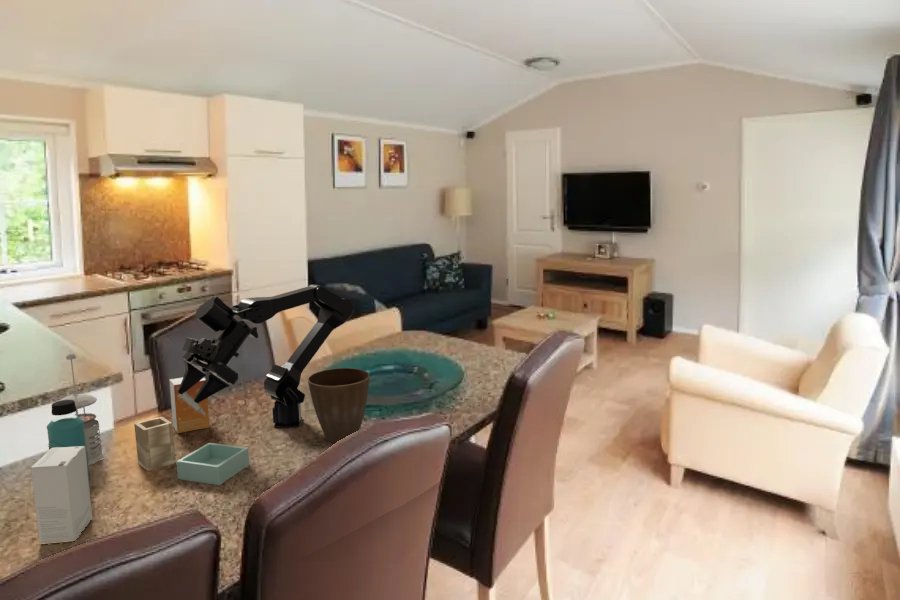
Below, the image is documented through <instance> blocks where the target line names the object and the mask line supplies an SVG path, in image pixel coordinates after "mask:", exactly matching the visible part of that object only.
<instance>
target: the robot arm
mask: <svg viewBox="0 0 900 600" xmlns="http://www.w3.org/2000/svg"><path fill="white" fill-rule="evenodd" d="M313 302H314V303H315V305H316V306H318V307H320V309H319V312H318V318H317V320H316V322H315V323H314V325H313V327H311V329H310V330H309V331H308V333H307V334H306V336H305V337H304V339H303V340H302V341H301V342H300V344H299V345H298V346H297V347H296V349H295V350H294V351H293V353H292V354H291V356H290V357H289V358H288V359H287V361H286V362H285V363H283V364H281V365H279V364H277V363H275V364H274V365H273V366H272V367H271V370H270V371H269V372H268V373H267V374H265V375H264V376H265V379H264V381H263V386H264V387H263V388H264V391H265V392H266V393H267V395H269V396H270V399H271V400H273V401H274V402H273V403H274V406H273V407H272V420H273V421H272V423H273V428H298V427H300V426H301V423H302V421H303V416H302V407H301V404H302V403H304V401H305V398H306V394H305V393H303V392H302V391H301V390H300V389H299V388H298V387H299V386H300V384H301V378H302V377H301V376H302V373H303V371H304V370H305V369H306V367H307V366H308V365H309V363H310V362H311V361H312V359H313V358H314V356H316V353H317V352H318V351H319V350H320V349H321V347H322V345H323V344H324V343H325V342H326V340H327V339H328V338H329V336H330V335H331V334H332V332H333V331H334V330H336V329H337V328H338V327H341V326H343V324H344V323H346V322H347V321H349V319H350V318H351V317H352V315H353V313H354V306H353V303H352V301H351V300H349V299H347V298H342V297H340V296H339V295H337V294H335V293H333V292H331V291H330V290H328V288H325V287H324V286H323V285H319V284H309V285H308V286H304V287H301V288H298V289H295V290H290V291H287V292H284V293H280V294H277V295H273V296H260V297H258V296H257V297H256V296H255V297H246V298H243V299H241V300H240V301H239V303H237V304H234V305H231V306H228V305H227V304H226V303H224V301H223V300H222V299H221V298H220V297H218V296H216V295H214V296H212V297H211V298H210V299H208V300H207V301H205V302H203V303H202V304H201V305H199V307H198V308H197V309H196V311H195V313H194V317H195V319H196V320H197V321H199V322H200V323H201V324H203V325H204V326H205V327H207V328H209V329H210V330H211V331H212V332H214V333H216V332H220V334H218V336H217V337H216V338H214V337H213V338H210V339H209V338H205V337H202V338H200V339H196V338H192V337H189V336H186V339H185V341H184V344H183V346H182V351H186V352H185V354H184V355H183V356H182V359H183V361H182V362H183V364H184V369H185V372H184V374H183V376H182V377H183V379H182V382H181V385H180V387H179V390H178V393H179V394H183V393H185V392H186V391H187V390H189V389H190V388H191V387H192V386H194V385H195V384H196V383H197V382H199V381H200V380H201V379H202V378H205V379H206V380H205V382H204V383H203V385H202V387H201V388H200V390H199V392H198V393H197V395H196V397H195V399H194V402H196V403H199V402H201V401H203V400H204V399H206V398H208V399H209V397H211V396H213V395H215V394H216V393H218V392H220V391H222V390H224V389H226V388H229V387H230V386H235V384H236V383H237V382H238V380H239V373H238V372H236V371H235V370H234V369H233V368H232V367H229V366H228V365H229V363H230V362H231V361H232V359H233V358H234V357H235V358H236V359H237V358H238V357H239V355H240V353H238V351H239V350H240V349H241V347H242V346H243V344H244V343H245V342H246V340H247V339H248V338H249V337H251V338H254V339H258V338H259V333H258V327H257V326H253V325H251V326H250V325H249V324H248V323H252V324H256V325H258V324H259V325H260V324H263V323H265V322H266V321H269V320H270V319H273V317H275V316H276V315H277V314H279V313H281V312H283V311H287V310H290V309H294V308H298V307H300V306H304V305H308V304H310V303H313ZM234 317H235V318H238V319H241V320H239V321H238V320H237V319H235V318H234ZM246 322H248V323H246Z"/></svg>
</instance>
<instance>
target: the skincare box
mask: <svg viewBox="0 0 900 600" xmlns="http://www.w3.org/2000/svg"><path fill="white" fill-rule="evenodd" d="M30 473H31V480H32V486H33V487H32V488H33V498H34V506H35V514H36V525H37V533H38V542H39V544H40V543H52V542H61V541H75V540H76V539H77V538H78V539H79V537H80V536H81V535H82V533H83V532H82V531H84V530H86V528H85V527H87V526H88V525H89V523H90V522H91V521H90V520H92V519H93V513H92V502H91V493H90V492H91V491H90V487H89V481H88V471H87V461H86V451H85V446H76V447H55V448H51V449H50V450H49V449H48V450H47V452H45V454H43V455H42V457H40V459H38V460H37V461H36V462H35V463H34V464H33V465H32V466H31V467H30ZM81 532H82V533H81ZM79 535H80V536H79ZM78 539H77V540H78ZM77 540H76V541H77ZM76 541H75V542H76Z"/></svg>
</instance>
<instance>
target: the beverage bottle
mask: <svg viewBox="0 0 900 600" xmlns="http://www.w3.org/2000/svg"><path fill="white" fill-rule="evenodd" d="M60 400H61V401H60ZM60 400H58V401H55V402H53V403H51V415H52V416H56V417H55V418H53V419H52V420H51V421H50V422H49V423H47V425H46V430H47V436H48V445H47V447H48V451H49V450H50V449H51V448H55V447H76V446H85V451H86V461H87V471H88V481H89V488H90V487H91V483H92V482H91V476H90V475H91V474H90V469H89V468H90V465H88V463H89V461H88V460H89V458H88V457H87V455H88V454H87V450H86V441H85V432H84V420H83V419H81V418H80V417H78V416H76V415H75V414H72V413H76V406H75V401H74V400H62V399H60ZM57 416H58V417H57Z"/></svg>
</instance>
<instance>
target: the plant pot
mask: <svg viewBox="0 0 900 600" xmlns="http://www.w3.org/2000/svg"><path fill="white" fill-rule="evenodd" d="M370 377H371V374H370V373H369V372H368V371H367V370H364V369H360V368H350V367H340V368H330V369H325V370H321V371H317V372H314V373H312V374H311V375H309V376H308V377H307V384H308V389H309V393H310V397H311V402H312V404H313V408H314V412H315V415H316V418H317V420H318V423H319V425H320V427H321V430H322V433H323V435H324V437H325V438H326V441H327V442H328V443H329V444H334V443H336V442H337V441H339V440H341V439H343V438H345V437H346V436H348V435H350V434H352V433H354V432H356V431H358V430H359V429H360V430H361V427H362V422H363V419H364V416H365V412H366V407H367V402H368V394H369V387H370V386H369V385H370ZM360 430H359V431H360Z"/></svg>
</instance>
